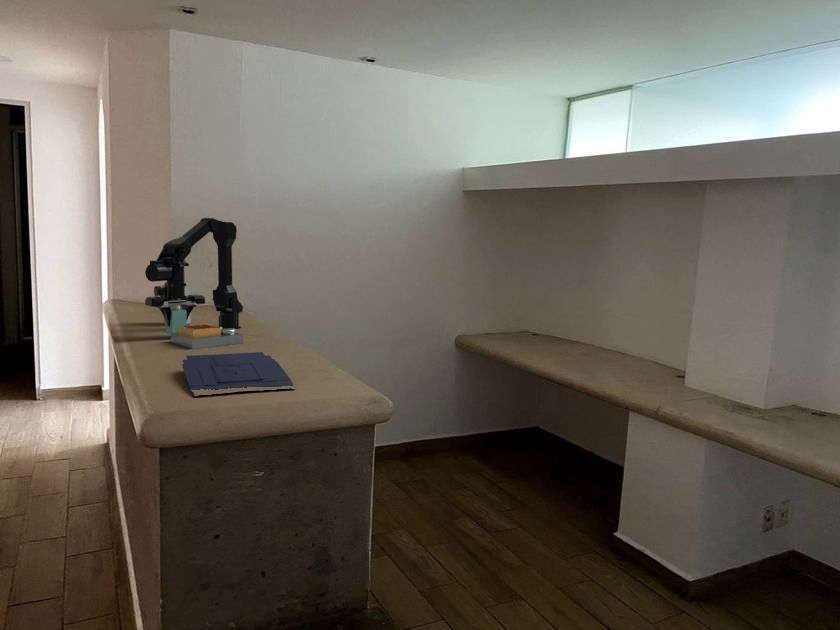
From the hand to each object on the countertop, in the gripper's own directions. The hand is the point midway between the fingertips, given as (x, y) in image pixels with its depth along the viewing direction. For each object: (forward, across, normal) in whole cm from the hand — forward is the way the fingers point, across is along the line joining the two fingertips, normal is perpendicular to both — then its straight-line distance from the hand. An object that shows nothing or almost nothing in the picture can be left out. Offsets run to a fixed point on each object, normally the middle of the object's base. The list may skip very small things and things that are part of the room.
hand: (176, 325), depth 222 cm
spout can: (+3, 0, 0) cm, 3 cm away
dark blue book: (+5, +15, +65) cm, 67 cm away
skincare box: (+4, -13, -27) cm, 30 cm away
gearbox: (+4, -4, +14) cm, 15 cm away
